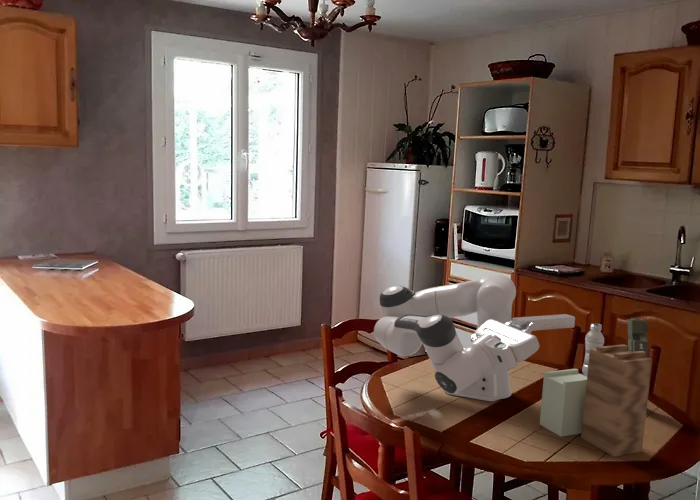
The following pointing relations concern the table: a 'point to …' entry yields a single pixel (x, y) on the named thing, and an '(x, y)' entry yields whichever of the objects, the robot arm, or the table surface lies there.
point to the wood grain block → (616, 399)
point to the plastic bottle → (592, 343)
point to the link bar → (545, 322)
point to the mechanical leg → (637, 335)
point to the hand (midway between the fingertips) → (527, 322)
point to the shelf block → (563, 402)
